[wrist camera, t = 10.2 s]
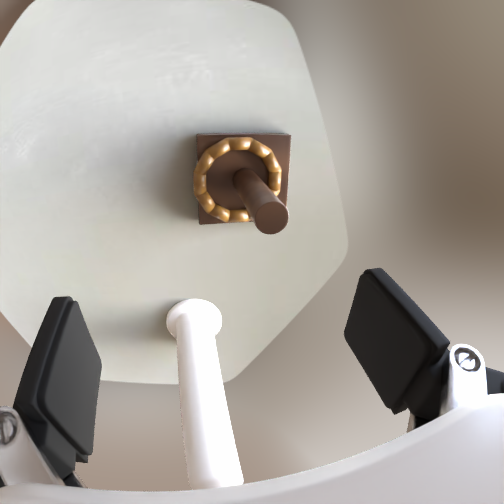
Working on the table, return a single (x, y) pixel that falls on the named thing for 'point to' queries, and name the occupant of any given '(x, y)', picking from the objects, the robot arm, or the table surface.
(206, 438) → the candle
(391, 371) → the robot arm
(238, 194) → the post
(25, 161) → the table surface
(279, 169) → the ring
